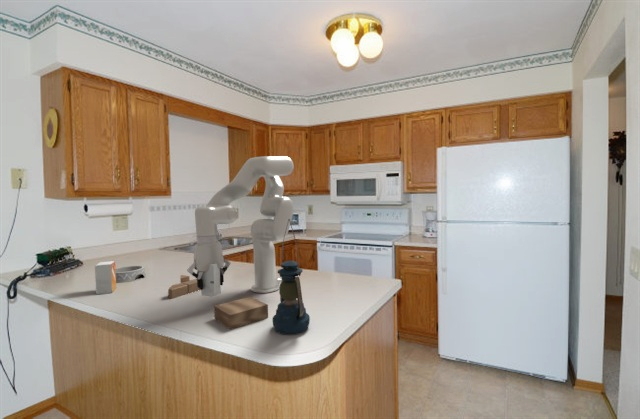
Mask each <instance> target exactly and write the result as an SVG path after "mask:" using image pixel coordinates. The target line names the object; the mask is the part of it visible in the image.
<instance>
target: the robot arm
mask: <svg viewBox="0 0 640 419" xmlns="http://www.w3.org/2000/svg"><path fill="white" fill-rule="evenodd" d="M294 168H295V166H294V162H293V160H292V159H291V157H288V156H286V155H285V156H284V155H281V156H275V155H274V156H269V155H268V156H267V155H264V156H263V155H262V156H255V157H250V158H249V159H247V160H246V161H245V162H244V164H243V165H242V167H241V168H240V169H239V170H238V173H236V176H234V178H233V179H232V181H231V182H229V183H227V184H226V185H225V186H224V187H222V188H221V189H220V190H218V191H217V192H216V193H215V194H214V195H213V196H212V197H211V199H210V200H209V202H207V203H206V206H200V207H196V208H195V210H194V218H195V219H194V220H195V221H194V222H195V234H196V235H195V236H196V244H194V248H193V263H192V264H191V265H190V266H189V267H188V268H187V270H186V271H187V273H189V274H190V275H192V277H194V279H197V286H198V288H199V289H201V290H203V280H202V279H201V276H202V274H203V272H204V271H208V270H209V266H210V265H211V264H217V267H218V269H220V286H223V285H224V284H223V283H224V281H225V280H224V275H225V273H226V271H227V270H228V268H229V267H230V265H231V262H230V261H229V260H228V259H226V258H225V257H224V253H223V248H222V244H221V242H220V240H221V239H222V238H223V236H222V235H221V234H219V232H218V225H230V224H232V223H234V222H235V221H236V220H237V219H238V216H239V213H238V210H237V208H236V207H235V206H233V205H230V204H231V203H233V202H234V201H236V200H240V199H241V198H244V197H245V196H247V195H249V194H250V193H251V192H252V190H253V189H254V187H255V186H256V184H257V182H258V181H259V180H260V178H263V179H264V181H265V189H264V192H263V196H262V199H261V203H260V207H259V208H260V209H259V212H260V214H261V216H263V217H266V218H260V219H256V220H254V221H253V222H252V224H251V225H250V236H251V239H252V245H253V246H252V247H253V249H252V250H253V276H254V277H253V278H254V280H253V281H254V282H253V283H254V284H253V285H252V286H251V287H250V289H251V292H254V293H256V294H257V293H258V294H266V293H267V294H268V293H272V292H276V291H279V287H280V284H281V279H282V277H277V275H276V274H277V273H276V272H277V270H276V250H275V249H276V248H275V244H274V243H273V242H283V239H284V240H285V239H286V238H287V236H288V234H289V229H290V228H291V225H290V222H292V219H293V215H294V209H295V208H294V202H293V200H292V199H291V198H290V197H288V196H284V192H285V186H284V183H283V180H282V179H281V177H285V176H289V175H291V174H292V173H293V171H294ZM271 218H272V219H271ZM273 218H274V219H273ZM288 219H290V221H289V222H288ZM287 223H288V226H287ZM286 227H287V230H286ZM285 231H286V234H285ZM284 235H285V238H284ZM194 270H196V272H194ZM201 290H200V291H201Z"/></svg>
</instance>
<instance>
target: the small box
mask: <svg viewBox="0 0 640 419" xmlns="http://www.w3.org/2000/svg"><path fill="white" fill-rule="evenodd" d="M115 268H116V261H114V260H110V261H99V262H98V263H96V264H95V265H94V274H95V293H96V295H102V294H110V293H111V294H112V293H113V292H114V291H115V290H116V289H117V283H116V269H115Z"/></svg>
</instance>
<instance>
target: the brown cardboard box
mask: <svg viewBox="0 0 640 419" xmlns="http://www.w3.org/2000/svg"><path fill="white" fill-rule="evenodd" d="M213 307H214V308H213V310H214V311H213V312H214V320H215V321H217V322H218V321H219V322H218V323H220V324H221V325H223V326H224V327H226V328H227V329H229V330H233V329H237V328H240V327H243V326H246V325H250V324H252V323H255V322H259V321H262V320H265V319H268V318H269V305H268V304H267V303H265V302H263V301H261V300H258V299H256V298H255V297H252V296H247V297H243V298H239V299H236V300H231V301H228V302H224V303H220V304H216V305H214V306H213Z"/></svg>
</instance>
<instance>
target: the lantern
mask: <svg viewBox="0 0 640 419" xmlns="http://www.w3.org/2000/svg"><path fill="white" fill-rule="evenodd" d="M289 221H290V219H288V222H289ZM291 222H292V221H291ZM291 222H290V228H291V231H292V234H293V238H294V241H295V246H296V256H297V257H296V258H297V261H294V260H288V261H287V260H286V261H284V244H281V245H282V249H281V250H282V253H281V254H282V258H281V259H282V260H281V262H282V263H280V269H278V270H277V274H279V278H280V279H281V278H282V279H281V282H280V283H279V286H280V287H279V289H278V291H279V295H280V296H279V298H280V299H279V300H280V301H279V302H280V303H278V304H277V309H275V314H274V316H272V325H273V326H272V327H273V328H274V330H275V332H277V333H278V334H280V335H288V336H290V335H291V336H292V335H297V334H298V335H299V334H301V333H304V332H305V331H306V330H307V329H308V328H309V325H310V320H311V318H310V315H309V313H307V310H306V308H305V304H304V301H303V300H304V299H303V294H302V285H301V279H300V276H301V274H302V273H303V269H302V268H301V267H299V266H300V264H299V252H298V250H299V249H298V242H297V240H296V236H295V233H294V230H293V226H292V223H291ZM287 226H288V223H287ZM286 230H287V227H286ZM285 234H286V231H285ZM284 238H285V235H284ZM285 239H286V238H285ZM285 239H283V241H282V243H284V241H285Z"/></svg>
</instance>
